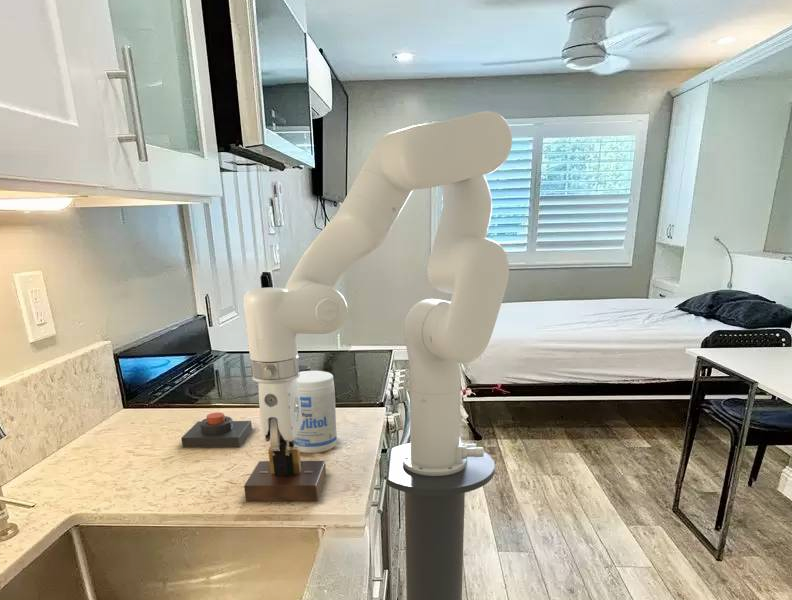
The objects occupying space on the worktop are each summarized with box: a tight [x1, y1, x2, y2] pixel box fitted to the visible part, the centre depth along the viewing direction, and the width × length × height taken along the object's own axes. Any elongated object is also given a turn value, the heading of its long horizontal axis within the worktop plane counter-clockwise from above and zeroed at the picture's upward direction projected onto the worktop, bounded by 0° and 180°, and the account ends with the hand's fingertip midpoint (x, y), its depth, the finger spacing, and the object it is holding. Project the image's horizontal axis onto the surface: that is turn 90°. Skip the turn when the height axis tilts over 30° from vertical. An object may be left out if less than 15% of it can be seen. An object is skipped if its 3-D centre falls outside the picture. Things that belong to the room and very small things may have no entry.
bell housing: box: [180, 415, 253, 449], centre depth 122 cm, size 12×10×4 cm
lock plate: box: [243, 460, 327, 503], centre depth 99 cm, size 12×10×3 cm
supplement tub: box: [294, 370, 338, 454], centre depth 114 cm, size 10×10×15 cm
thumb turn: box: [267, 447, 301, 474], centre depth 97 cm, size 5×1×5 cm, turn 87°
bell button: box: [206, 412, 225, 425], centre depth 121 cm, size 4×4×2 cm
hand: (286, 471), depth 98 cm, fingers closed
